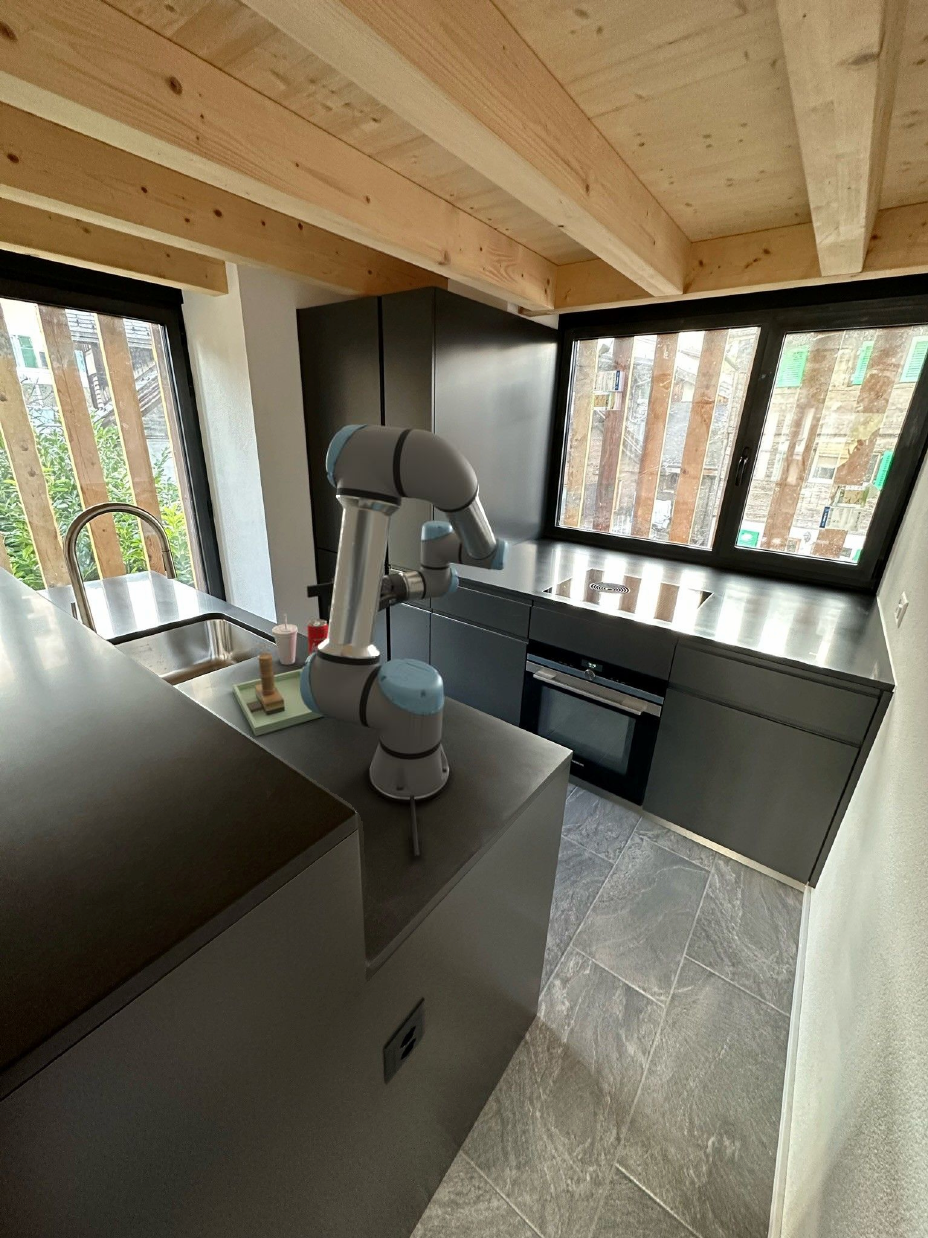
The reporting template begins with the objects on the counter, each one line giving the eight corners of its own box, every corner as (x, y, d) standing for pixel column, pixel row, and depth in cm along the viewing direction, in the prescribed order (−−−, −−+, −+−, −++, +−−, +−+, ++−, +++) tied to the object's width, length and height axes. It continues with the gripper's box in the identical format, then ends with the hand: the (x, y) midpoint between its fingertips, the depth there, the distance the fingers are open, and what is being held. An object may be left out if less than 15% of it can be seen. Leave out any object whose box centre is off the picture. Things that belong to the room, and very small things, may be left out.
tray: (331, 713, 117) (330, 706, 117) (255, 736, 108) (254, 728, 108) (302, 675, 132) (301, 668, 131) (233, 692, 123) (232, 685, 122)
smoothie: (284, 669, 134) (280, 620, 128) (270, 661, 138) (265, 613, 132) (305, 661, 139) (301, 613, 133) (290, 653, 142) (286, 606, 137)
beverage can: (332, 659, 140) (330, 619, 136) (325, 668, 136) (323, 627, 131) (313, 657, 141) (311, 617, 136) (306, 666, 136) (303, 625, 131)
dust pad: (263, 709, 116) (262, 706, 116) (249, 713, 115) (248, 710, 114) (259, 703, 119) (259, 700, 118) (245, 706, 117) (245, 703, 117)
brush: (284, 710, 116) (280, 662, 111) (266, 716, 114) (261, 666, 109) (273, 692, 123) (268, 645, 118) (255, 696, 121) (250, 649, 116)
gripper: (426, 619, 120) (339, 637, 108) (378, 586, 138) (300, 598, 127) (427, 589, 117) (338, 604, 105) (378, 559, 135) (298, 569, 124)
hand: (317, 601), depth 116 cm, fingers open, 13 cm apart
